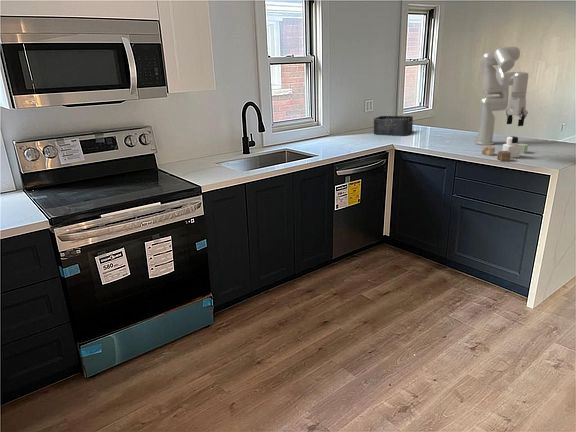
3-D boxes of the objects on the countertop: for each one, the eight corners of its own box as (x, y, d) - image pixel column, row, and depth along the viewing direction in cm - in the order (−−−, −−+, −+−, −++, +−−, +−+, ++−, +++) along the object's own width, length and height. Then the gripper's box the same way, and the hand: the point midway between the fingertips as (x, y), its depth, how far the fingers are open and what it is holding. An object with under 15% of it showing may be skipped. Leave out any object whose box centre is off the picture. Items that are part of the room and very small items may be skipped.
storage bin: (372, 134, 349) (372, 118, 344) (380, 131, 364) (380, 115, 360) (406, 136, 335) (407, 119, 330) (413, 132, 350) (414, 116, 345)
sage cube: (515, 152, 264) (516, 144, 262) (518, 151, 267) (519, 143, 265) (523, 153, 260) (524, 145, 259) (527, 152, 263) (528, 144, 262)
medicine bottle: (512, 154, 259) (515, 135, 254) (519, 157, 252) (522, 137, 248) (501, 155, 259) (503, 136, 254) (507, 158, 252) (510, 138, 248)
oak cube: (481, 154, 264) (482, 146, 263) (487, 153, 266) (488, 145, 265) (488, 155, 260) (489, 147, 258) (494, 154, 262) (495, 146, 260)
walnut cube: (497, 159, 251) (498, 151, 249) (505, 159, 251) (506, 150, 249) (501, 161, 246) (502, 153, 244) (509, 160, 246) (510, 152, 244)
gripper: (502, 94, 250) (499, 123, 256) (523, 96, 234) (519, 127, 239) (514, 93, 251) (510, 122, 257) (535, 95, 235) (530, 126, 241)
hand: (514, 125), depth 248 cm, fingers open, 9 cm apart
